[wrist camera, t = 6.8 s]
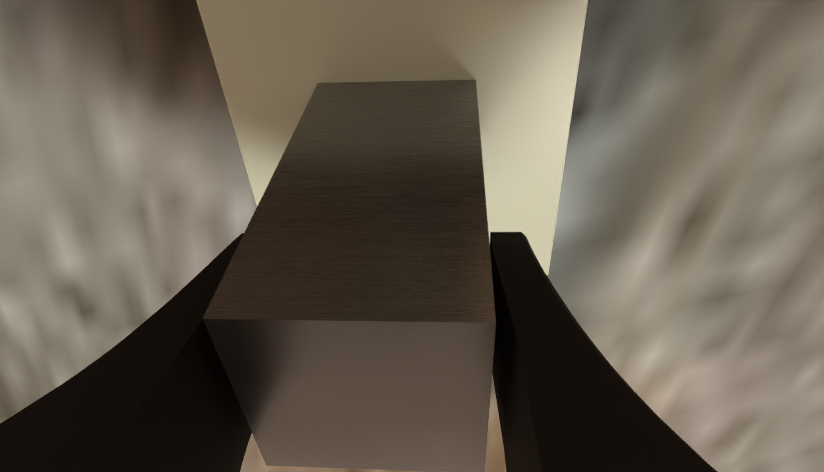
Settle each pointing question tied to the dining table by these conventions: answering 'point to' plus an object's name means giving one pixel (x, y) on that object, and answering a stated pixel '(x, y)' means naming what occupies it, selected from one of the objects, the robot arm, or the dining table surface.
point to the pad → (413, 61)
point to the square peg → (367, 286)
